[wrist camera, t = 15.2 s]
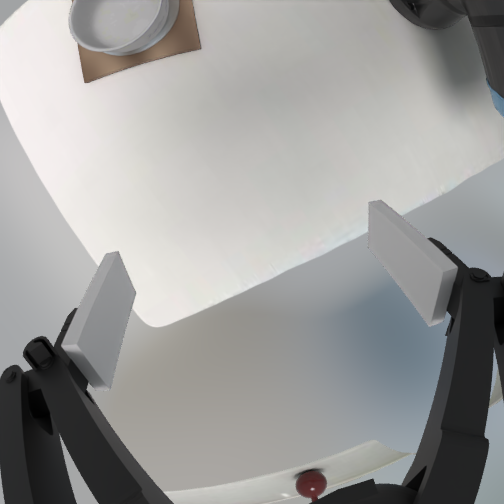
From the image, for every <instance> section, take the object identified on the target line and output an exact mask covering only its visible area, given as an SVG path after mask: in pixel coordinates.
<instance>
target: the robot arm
mask: <svg viewBox="0 0 504 504" xmlns="http://www.w3.org/2000/svg"><path fill="white" fill-rule="evenodd" d="M390 2H391V3H392V4H393V6H394V7H395V8H396V9H397V10H398V11H399V12H400V13H401V14H402V15H403V16H404V17H405V18H407V19H408V20H409V21H411V22H412V23H414V24H416V25H418V26H420V27H423V28H427V29H442V28H447V27H450V26H452V25H453V24H455V23H456V22H458V21H459V20H461V19H462V18H464V17H465V16H466V15H467V16H468V18H469V21H470V23H471V26H472V29H473V32H474V35H475V38H476V41H477V44H478V47H479V51H480V54H481V58H482V61H483V65H484V68H485V72H486V76H487V78H486V81H487V84H488V86H489V88H490V91H491V95H492V99H493V103H494V106H495V108H496V109H497V110H498V112H499V113H500V114H501V115H502V116H503V117H504V0H390ZM368 248H369V250H370V251H371V252H372V253H373V254H374V256H375V257H376V258H377V259H378V260H379V262H380V263H381V264H382V265H383V267H384V268H385V269H386V270H387V272H388V273H389V274H390V275H391V277H392V278H393V279H394V281H395V282H396V283H397V284H398V286H399V287H400V288H401V289H402V291H403V292H404V293H405V295H406V296H407V297H408V299H409V300H410V301H411V303H412V304H413V305H414V307H415V308H416V309H417V311H418V312H419V313H420V315H421V316H422V318H423V319H424V320H425V322H426V323H427V325H428V326H429V327H430V326H433V325H436V324H438V323H441V322H443V321H444V318H445V314H446V311H448V313H449V314H450V315H451V320H450V323H449V326H448V328H447V332H446V335H445V336H447V341H446V347H445V352H444V358H443V362H442V367H441V372H440V376H439V380H438V385H437V389H436V393H435V396H434V401H433V404H432V408H431V411H430V414H429V418H428V421H427V424H426V428H425V431H424V434H423V437H422V440H421V443H420V445H419V448H418V451H417V454H416V456H415V459H414V461H413V464H412V466H411V468H410V469H409V471H408V473H407V475H406V477H405V479H404V481H403V483H402V485H396V484H375V482H374V479H370V480H367V481H364V482H361V483H358V484H355V485H351V486H348V487H345V488H341V489H338V490H336V491H334V492H332V493H330V494H328V495H326V496H324V497H322V498H320V499H318V500H316V501H314V502H312V503H310V504H474V502H475V499H476V496H477V493H478V489H479V486H480V482H481V479H482V475H483V471H484V467H485V463H486V459H487V455H488V449H489V440H488V439H486V438H485V436H484V433H485V426H486V421H487V414H488V408H489V401H490V392H491V382H492V371H493V353H494V350H495V354H496V359H497V364H498V369H499V375H500V381H501V387H502V393H503V400H504V273H503V276H502V277H491V276H490V275H489V274H488V273H487V272H486V271H484V270H482V269H479V268H468V267H467V266H466V265H465V264H464V263H463V262H462V261H461V260H460V259H459V258H458V257H457V256H455V255H454V254H452V252H451V251H450V250H449V249H447V248H446V247H445V246H444V245H443V244H442V243H441V242H439V241H437V240H435V239H433V238H426V237H425V236H424V235H423V234H421V233H420V232H419V231H418V230H417V229H416V228H415V227H413V226H412V225H411V224H410V223H409V222H408V221H406V220H405V219H404V218H402V216H400V215H399V214H398V213H397V212H396V211H394V210H393V209H392V208H391V207H389V206H388V205H387V204H386V203H384V202H383V201H382V200H378V201H372V202H369V223H368ZM135 296H136V291H135V289H134V287H133V285H132V282H131V280H130V278H129V275H128V273H127V271H126V268H125V266H124V263H123V261H122V259H121V256H120V254H119V251H116V252H112V253H107V254H106V255H105V256H104V258H103V260H102V262H101V264H100V266H99V267H98V269H97V271H96V273H95V275H94V277H93V279H92V281H91V283H90V285H89V287H88V289H87V291H86V293H85V295H84V297H83V299H82V301H81V303H80V305H79V307H78V308H75V309H74V310H73V311H72V312H71V313H70V314H69V315H68V317H67V319H66V321H65V323H64V326H63V327H62V329H61V332H60V334H59V336H58V338H57V340H56V342H55V345H54V347H53V346H52V344H51V343H50V342H49V340H48V339H47V338H46V337H43V336H40V337H37V338H35V339H33V340H32V341H30V342H29V343H28V344H27V346H26V347H25V349H24V351H23V357H24V358H25V359H26V361H27V362H28V363H29V365H30V366H31V367H32V368H33V369H32V370H29V371H26V372H23V370H22V369H21V368H20V367H19V366H18V365H12V366H10V367H9V368H7V369H6V370H5V371H4V372H3V374H2V376H1V378H0V469H1V478H2V487H3V494H4V500H5V504H77V503H76V500H75V497H74V493H73V490H72V487H71V483H70V479H69V476H68V472H67V468H66V464H65V459H64V455H63V450H62V446H61V441H60V436H59V433H60V435H61V437H62V440H63V442H64V444H65V446H66V448H67V450H68V452H69V454H70V456H71V458H72V459H73V461H74V463H75V465H76V467H77V469H78V470H79V472H80V474H81V476H82V477H83V479H84V481H85V482H86V484H87V485H88V487H89V489H90V491H91V492H92V494H93V495H94V497H95V499H96V500H97V502H98V503H99V504H174V503H173V502H172V501H171V500H170V499H169V498H168V497H167V496H166V495H165V494H164V493H163V491H162V490H161V489H160V488H159V487H158V486H157V485H156V484H155V483H154V482H153V480H152V479H151V478H150V477H149V475H148V474H147V473H146V472H145V471H144V470H143V468H142V467H141V466H140V465H139V463H138V462H137V461H136V459H135V458H134V457H133V456H132V454H131V453H130V452H129V451H128V449H127V448H126V446H125V445H124V444H123V442H122V441H121V440H120V438H119V437H118V436H117V434H116V433H115V431H114V430H113V428H112V427H111V425H110V424H109V423H108V421H107V420H106V418H105V417H104V415H103V414H102V412H101V410H100V409H99V407H98V406H97V404H96V403H95V401H94V399H93V398H92V396H91V395H90V393H89V392H88V391H87V390H86V389H87V385H88V382H89V383H90V385H91V386H92V387H93V388H94V390H95V391H104V390H111V386H112V382H113V377H114V373H115V369H116V365H117V361H118V357H119V353H120V349H121V345H122V341H123V337H124V334H125V329H126V327H127V323H128V319H129V316H130V312H131V309H132V306H133V302H134V299H135Z"/></svg>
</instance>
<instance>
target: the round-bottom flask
mask: <svg viewBox="0 0 504 504" xmlns="http://www.w3.org/2000/svg"><path fill="white" fill-rule="evenodd" d="M326 487H327V480H326V478H325V476H324V475H323V474H322V473H320V472H317V471H307V472H305V473H303V474H301V475H300V476H299V477H298V479H297V481H296V490H297V492H298V493H299V494H300V495H301V496H303V497H305V498H311V499H312V502H314V501H316V500H318V496H320V495H321V494H322V493H323V492H324V491H325V489H326Z"/></svg>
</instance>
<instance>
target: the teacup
mask: <svg viewBox="0 0 504 504" xmlns="http://www.w3.org/2000/svg"><path fill="white" fill-rule="evenodd" d="M168 11H169V3H168V0H74V1H73V3H72V6H71V9H70V13H69V29H70V32H71V34H72V36H73V38H74V39H75V41H76V42H77V43H78V44H79V45H81V46H82V47H84V48H86V49H88V50H91V51H96V52H115V53H120V52H128V51H132V50H135V49H137V48H140V47H142V46H144V45H145V44H147V43H148V42H150V41H151V40H152V39H153V38H154V37H155V36H156V35H157V34H158V33H159V32H160V30H161V29H162V28H163V26H164V24H165V22H166V19H167V16H168Z"/></svg>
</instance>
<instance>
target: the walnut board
mask: <svg viewBox="0 0 504 504" xmlns="http://www.w3.org/2000/svg"><path fill="white" fill-rule="evenodd" d="M73 1H74V0H72V3H73ZM168 3H169V11H168V16H167V19H166V22H165V24H164V26H163V28H162V29H161V30H160V32H159V33H158V34H157V35H156V36H155V37H154V38H153V39H152V40H151V41H150V42H148V43H147V44H145V45H144V46H142V47H140V48H137V49H135V50H132V51H128V52H120V53H115V52H96V51H91V50H88V49H86V48H84V47H82V46H81V45H79V44H78V50H79V56H80V61H81V67H82V72H83V77H84V82H85V83H89V82H91V81H94V80H96V79H99V78H102V77H104V76H107V75H110V74H113V73H115V72H118V71H121V70H124V69H127V68H130V67H133V66H137V65H140V64H143V63H147V62H150V61H154V60H157V59H161V58H165V57H168V56H172V55H176V54H181V53H185V52H189V51H194V50H199V49H201V47H200V42H199V36H198V31H197V26H196V20H195V15H194V9H193V4H192V0H168Z"/></svg>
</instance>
